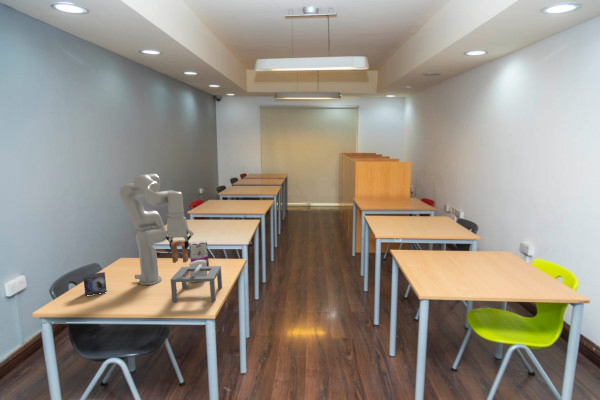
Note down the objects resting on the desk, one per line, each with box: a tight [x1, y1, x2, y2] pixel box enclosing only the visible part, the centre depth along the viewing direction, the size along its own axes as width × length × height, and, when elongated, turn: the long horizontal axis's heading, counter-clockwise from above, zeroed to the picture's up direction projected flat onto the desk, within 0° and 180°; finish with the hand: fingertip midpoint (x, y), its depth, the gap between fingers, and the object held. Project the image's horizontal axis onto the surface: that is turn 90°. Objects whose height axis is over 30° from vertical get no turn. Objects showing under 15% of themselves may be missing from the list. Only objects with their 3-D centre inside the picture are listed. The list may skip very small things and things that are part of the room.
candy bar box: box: [188, 240, 210, 266], centre depth 251 cm, size 11×5×16 cm, turn 113°
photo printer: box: [189, 260, 208, 277], centre depth 227 cm, size 10×4×12 cm, turn 123°
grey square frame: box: [170, 264, 223, 303], centre depth 206 cm, size 22×19×14 cm
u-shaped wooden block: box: [170, 239, 189, 264], centre depth 203 cm, size 7×4×11 cm, turn 89°
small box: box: [83, 271, 108, 297], centre depth 211 cm, size 11×6×10 cm, turn 117°
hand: (179, 248), depth 203 cm, fingers closed on u-shaped wooden block, 7 cm apart
